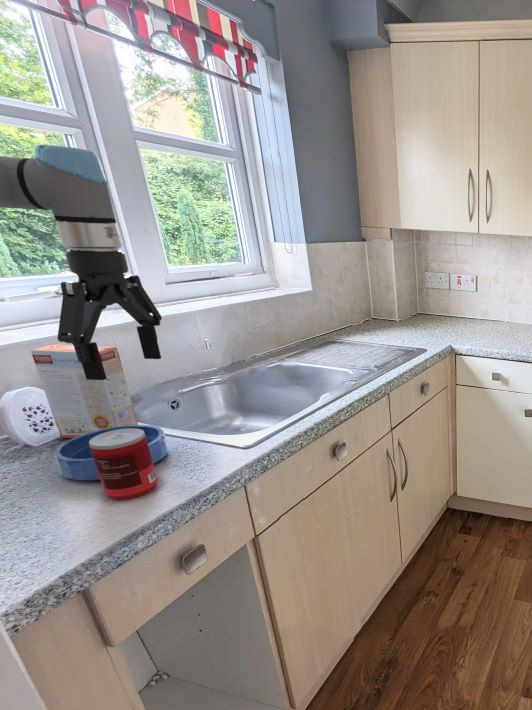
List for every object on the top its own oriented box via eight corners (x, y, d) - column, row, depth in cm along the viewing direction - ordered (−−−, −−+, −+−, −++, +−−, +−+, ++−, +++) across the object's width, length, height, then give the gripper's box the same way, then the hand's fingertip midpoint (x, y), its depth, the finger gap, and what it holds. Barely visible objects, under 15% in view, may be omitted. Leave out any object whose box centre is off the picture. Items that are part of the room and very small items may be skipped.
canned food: (147, 474, 90) (133, 424, 87) (166, 487, 87) (152, 435, 83) (98, 491, 84) (80, 438, 80) (116, 505, 80) (98, 450, 77)
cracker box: (142, 431, 108) (118, 346, 101) (119, 442, 102) (93, 352, 95) (84, 427, 108) (56, 342, 101) (59, 438, 103) (27, 349, 95)
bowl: (54, 492, 83) (46, 468, 81) (69, 456, 96) (62, 435, 94) (168, 469, 93) (162, 447, 91) (168, 439, 105) (163, 419, 103)
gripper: (50, 253, 66) (92, 390, 73) (167, 247, 89) (190, 352, 97) (-6, 251, 65) (42, 389, 73) (127, 245, 89) (153, 350, 96)
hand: (127, 368), depth 85 cm, fingers open, 13 cm apart
